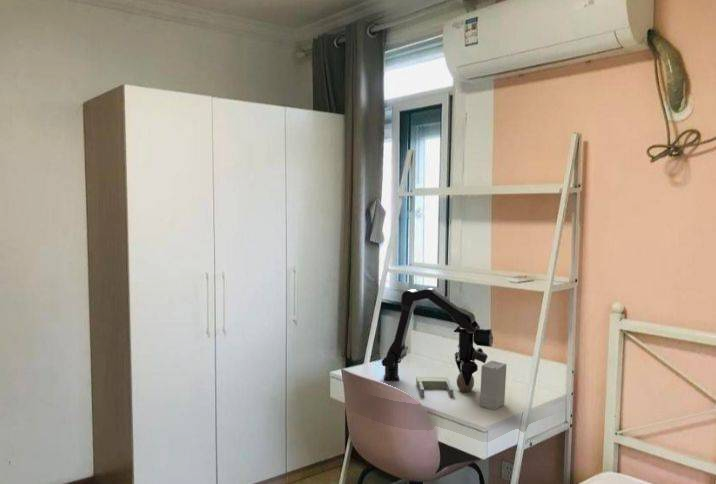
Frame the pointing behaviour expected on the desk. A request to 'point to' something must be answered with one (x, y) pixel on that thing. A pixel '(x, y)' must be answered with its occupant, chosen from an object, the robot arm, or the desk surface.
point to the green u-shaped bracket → (434, 384)
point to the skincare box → (493, 385)
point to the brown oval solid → (462, 384)
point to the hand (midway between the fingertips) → (465, 382)
